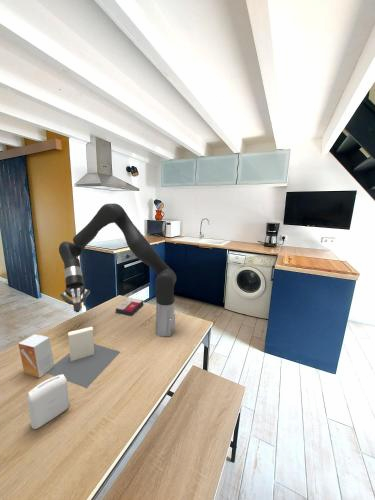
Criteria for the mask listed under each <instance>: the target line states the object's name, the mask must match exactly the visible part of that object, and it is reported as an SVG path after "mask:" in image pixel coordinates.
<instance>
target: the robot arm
mask: <svg viewBox="0 0 375 500" xmlns="http://www.w3.org/2000/svg"><path fill="white" fill-rule="evenodd" d="M113 223H114V224H115V225H116V226H117V227H118V228H119V229H120V231H121V232H122V234H123V236H124V239H125V242H126V245H127V247H128V248H129V250H130V251H131V253H132V254H134V257H136V258H137V259H138V260H139V261H140V262H142V263H144V264H145V265H146V266H148V267H149V268H151V270H153V272H154V273H155V274H156V276H157V277H156V278H155V283H154V284H155V285H154V287H155V288H154V290H155V291H154V292H155V293H154V295H155V298H156V303H155V305H156V307H155V334H156V335H158V336H159V337H172V335H173V333H174V332H175V326H176V313H175V301H176V300H175V298H176V297H175V295H174V294H175V285H176V282H177V275H176V272H175V271H174V270H173V269H172V268H170V266H169V265H167V263H165V261H164V260H163V259H162V258H161V256H160V255H159V254H158V252H157V251H156V250H155V248H153V246H152V245H151V243H150V242H149V241H148V240H147V238H145V236H144V235H143V234H142V232H141V231H140V230H139V229H138V228H137V227H136V225H135V224H134V223H133V221H132V219H131V218H130V217H129V215H128V214H127V212H126V210H125V208H123V207H122V205H120V204H119V203H118V204H117V203H105V204H104V205H102V206H101V207H100V208H99V209H98V211H97V212H96V214H95V215H94V216H93V218H92V219H91V220H90V221H89V222H88V223H87V224H86V225H85V226H84V227H83V228H82V229H81V230H80V231H79V232H77V234H75V235H74V236H73V238H72V241H73V242H70V241H62V242H61V243H60V244H59V247H58V252H59V255H60V258H61V261H62V262H63V266H64V267H63V268H64V284H65V290H64V292H63V293H60V298H61V300H63V301H64V302H65V303H67V304H68V305H72V306H73V311H74V312H75V313H80V311H82V305H81V304H82V303H84V302H85V300H86V299H87V297H88V296H89V295H90V293H91V290H90V289H86V287H85V286H84V285H85V284H84V278H83V271H82V269H81V262H80V259H79V258H78V257H79V256H81V255H82V253H83V252H84V250H85V248H86V247H87V245H89V244H90V243H91V242H92V241H93V240H94V239H95V238H96V237H97V235H98V233H99V232H100V231H101V230H102V229H103V228H105V227H106V226H108V225H111V224H113ZM83 294H84V295H83ZM82 295H83V296H82ZM81 296H82V298H81ZM70 298H71V299H70Z"/></svg>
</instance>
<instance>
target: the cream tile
mask: <svg viewBox="0 0 375 500" xmlns="http://www.w3.org/2000/svg"><path fill="white" fill-rule="evenodd" d="M67 335H68V347H69V353H70V360H71V361H74V360H77V359H80V358H83V357H87V356H90V355H93V354H94V344H95V343H94V342H95V341H94V327H93V326H89V327H84V328H81V329H76V330H72V331H68V333H67Z"/></svg>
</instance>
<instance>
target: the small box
mask: <svg viewBox="0 0 375 500" xmlns="http://www.w3.org/2000/svg"><path fill="white" fill-rule="evenodd" d="M17 345H18V349H19V353H20V354H19V355H20V358H21V363H22V368H23V373H24V374H27V375H29V376H32V377H36V378H40V379H41V377H43V376H44V375H45V374H47V373H46V372H48V371H49V370H50V369H52V368H53V367H54V364H55V362H54V357H53V350H52V344H51V341H50V336H45V335H42V334H41V335H40V334H37V333H36V334H35V333H34V334H32V335H30V336H29V337H27V338H25V339H24V340H22V341H19V342H18V344H17Z"/></svg>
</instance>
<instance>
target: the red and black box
mask: <svg viewBox="0 0 375 500" xmlns="http://www.w3.org/2000/svg"><path fill="white" fill-rule="evenodd" d="M143 306H144V300H142V299H137V298H133V297H128V298H127V299H125V300H124V301H123V302H121V304H119V305H118V306H117V307H116V308H115V314H120V315H124V316H130V317H132V316H134V315H135V314H136V313H137V312H138V311H139V310H140V309H141V308H142V307H143Z"/></svg>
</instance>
